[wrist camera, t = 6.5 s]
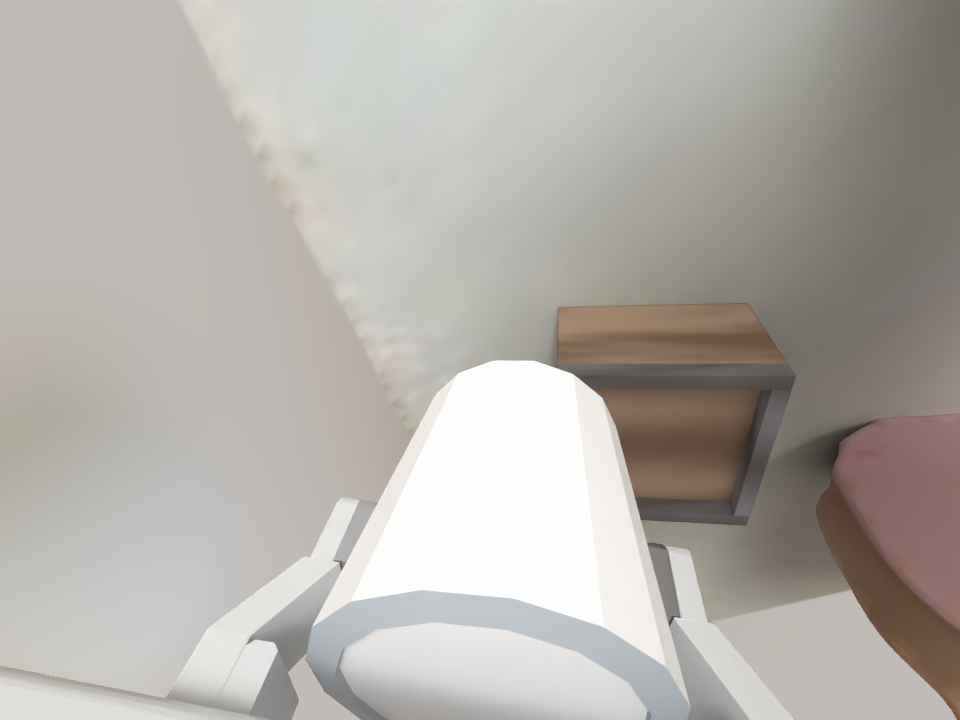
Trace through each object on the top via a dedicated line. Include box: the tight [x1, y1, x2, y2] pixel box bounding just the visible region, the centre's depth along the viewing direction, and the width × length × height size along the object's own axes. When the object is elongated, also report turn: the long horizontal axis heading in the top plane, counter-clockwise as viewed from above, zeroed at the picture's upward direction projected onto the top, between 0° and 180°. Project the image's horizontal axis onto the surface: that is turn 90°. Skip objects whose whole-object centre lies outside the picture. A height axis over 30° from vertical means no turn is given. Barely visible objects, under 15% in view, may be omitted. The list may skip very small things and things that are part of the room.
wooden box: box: [557, 304, 796, 525], centre depth 28 cm, size 11×11×7 cm
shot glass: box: [306, 361, 691, 720], centre depth 11 cm, size 7×7×7 cm
